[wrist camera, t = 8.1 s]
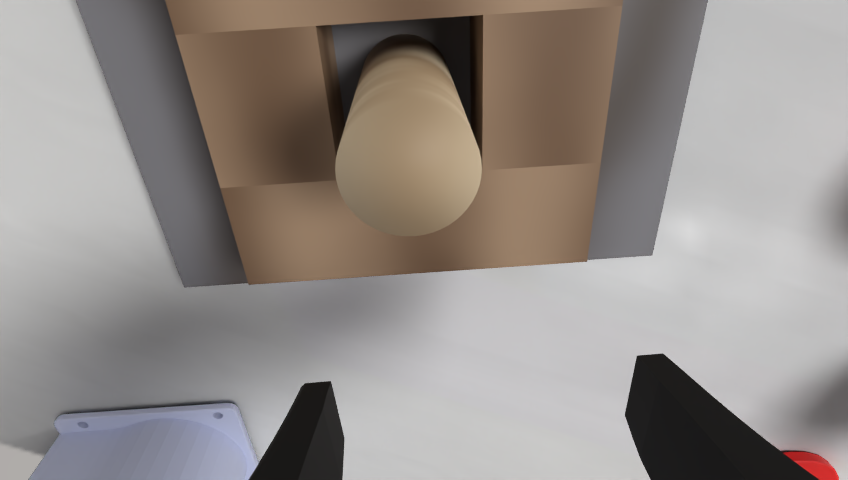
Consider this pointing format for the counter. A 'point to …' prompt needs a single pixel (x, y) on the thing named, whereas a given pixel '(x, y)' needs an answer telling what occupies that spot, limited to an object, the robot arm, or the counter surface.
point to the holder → (330, 105)
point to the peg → (407, 142)
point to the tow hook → (814, 465)
